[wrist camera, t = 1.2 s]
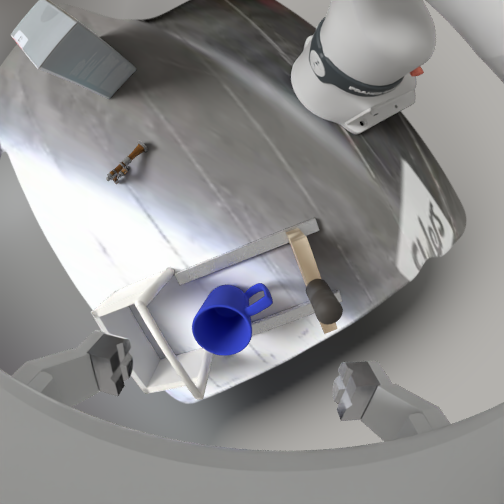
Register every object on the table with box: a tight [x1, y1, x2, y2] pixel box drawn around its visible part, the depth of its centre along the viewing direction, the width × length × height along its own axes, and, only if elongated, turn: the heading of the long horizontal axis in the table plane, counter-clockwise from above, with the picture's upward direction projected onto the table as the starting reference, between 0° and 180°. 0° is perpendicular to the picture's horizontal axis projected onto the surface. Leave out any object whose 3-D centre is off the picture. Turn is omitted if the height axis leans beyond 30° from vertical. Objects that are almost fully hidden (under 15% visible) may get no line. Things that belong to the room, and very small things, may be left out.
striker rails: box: [174, 218, 342, 335], centre depth 44 cm, size 24×15×1 cm, turn 112°
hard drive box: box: [11, 0, 136, 99], centre depth 25 cm, size 16×8×20 cm, turn 44°
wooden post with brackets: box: [106, 140, 147, 184], centre depth 39 cm, size 2×8×4 cm, turn 136°
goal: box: [91, 268, 214, 400], centre depth 40 cm, size 13×18×14 cm
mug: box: [192, 283, 273, 355], centre depth 40 cm, size 8×12×10 cm
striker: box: [286, 228, 343, 334], centre depth 35 cm, size 3×14×14 cm, turn 23°
